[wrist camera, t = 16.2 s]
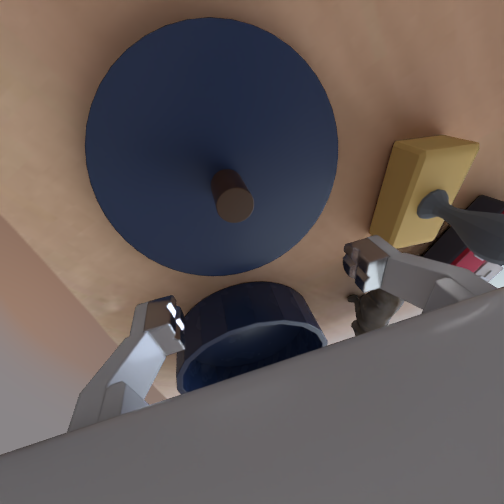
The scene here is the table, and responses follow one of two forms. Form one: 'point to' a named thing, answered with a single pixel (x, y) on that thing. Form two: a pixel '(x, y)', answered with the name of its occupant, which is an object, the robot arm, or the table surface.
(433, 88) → the table surface
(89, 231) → the table surface
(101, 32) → the table surface
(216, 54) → the pan lid
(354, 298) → the rhino figurine
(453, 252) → the calculator
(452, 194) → the rubber stamp
